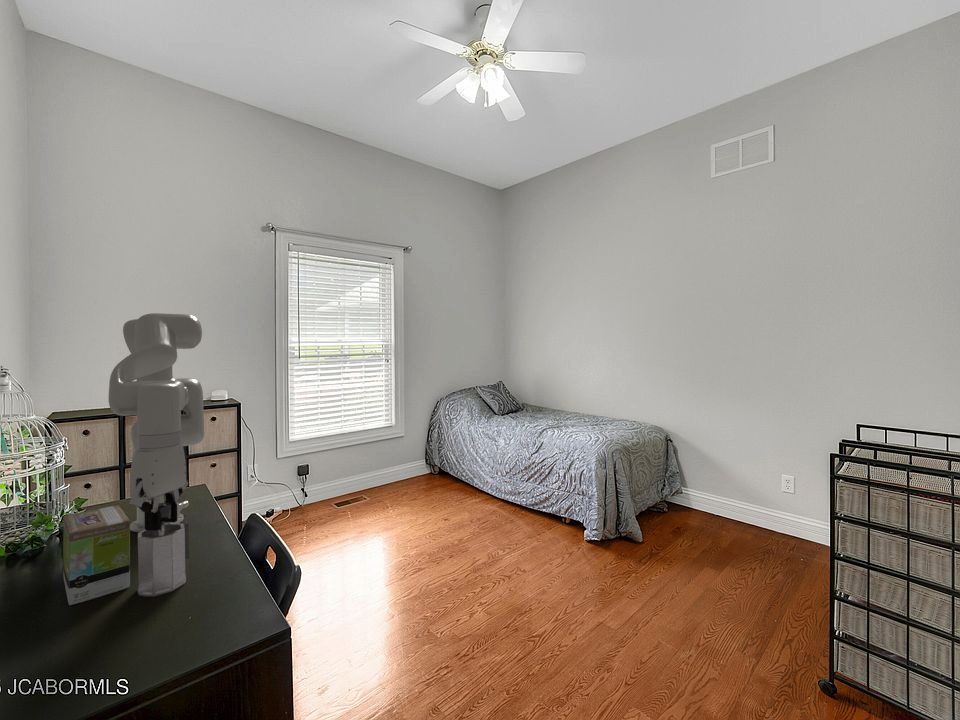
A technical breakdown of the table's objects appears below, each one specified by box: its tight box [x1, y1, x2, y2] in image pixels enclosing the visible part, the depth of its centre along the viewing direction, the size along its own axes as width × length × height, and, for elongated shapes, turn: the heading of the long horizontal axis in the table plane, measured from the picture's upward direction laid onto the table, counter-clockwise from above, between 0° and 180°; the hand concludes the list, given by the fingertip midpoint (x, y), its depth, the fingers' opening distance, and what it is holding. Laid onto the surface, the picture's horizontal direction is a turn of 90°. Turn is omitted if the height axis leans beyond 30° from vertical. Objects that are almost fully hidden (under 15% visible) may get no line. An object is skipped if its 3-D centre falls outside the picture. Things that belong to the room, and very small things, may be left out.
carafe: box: [137, 522, 190, 598], centre depth 95 cm, size 11×8×12 cm
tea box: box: [62, 504, 131, 606], centre depth 94 cm, size 15×10×15 cm, turn 47°
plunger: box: [157, 502, 172, 536], centre depth 93 cm, size 5×5×13 cm
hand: (161, 524), depth 93 cm, fingers closed on plunger, 3 cm apart
